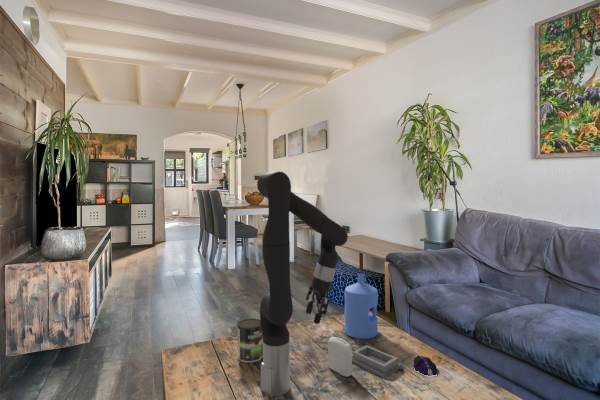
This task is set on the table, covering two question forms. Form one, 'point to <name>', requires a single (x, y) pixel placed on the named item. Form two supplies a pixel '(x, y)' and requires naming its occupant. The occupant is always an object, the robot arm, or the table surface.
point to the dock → (375, 361)
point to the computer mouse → (425, 365)
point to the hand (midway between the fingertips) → (312, 318)
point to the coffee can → (250, 340)
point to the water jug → (361, 310)
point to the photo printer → (340, 356)
